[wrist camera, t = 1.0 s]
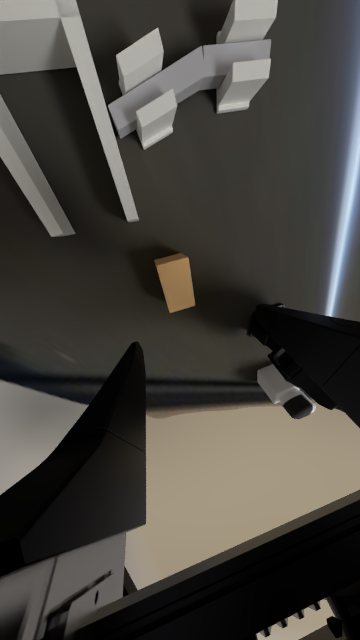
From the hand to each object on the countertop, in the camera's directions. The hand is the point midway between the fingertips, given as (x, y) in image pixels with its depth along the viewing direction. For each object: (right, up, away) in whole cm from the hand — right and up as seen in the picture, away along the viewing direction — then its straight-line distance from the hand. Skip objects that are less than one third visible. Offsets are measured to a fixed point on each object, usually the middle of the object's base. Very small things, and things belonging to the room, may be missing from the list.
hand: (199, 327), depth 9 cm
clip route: (-1, +18, +1) cm, 18 cm away
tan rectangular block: (-2, +6, +9) cm, 11 cm away
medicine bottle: (+26, -15, +31) cm, 43 cm away
